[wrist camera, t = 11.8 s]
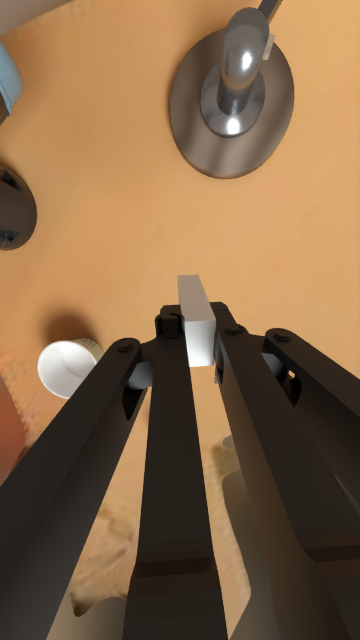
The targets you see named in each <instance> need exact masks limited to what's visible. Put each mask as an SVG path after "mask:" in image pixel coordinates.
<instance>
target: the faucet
mask: <svg viewBox="0 0 360 640" xmlns="http://www.w3.org/2000/svg"><path fill="white" fill-rule="evenodd" d="M282 1H283V0H262V2H261V4H260V6H259V7H258V9H256V8H250V7H249V8H244V9H241V10H240V11H238V12H237V13H236V14H235V15H234V16H233V17H232V18H231V20H230V22H229V24H228V26H227V30H226V36H225V42H224V49H223V56H222V61H221V62H219V63H218V64H217V65H215V66H214V67H213V68H212V69H211V71H210V72H209V73H208V75H207V76H206V78H205V80H204V83H203V86H202V90H201V99H200V109H201V114H202V118H203V120H204V122H205V124H206V126H207V127H208V128H209V130H210V131H211V132H213V133H214V134H216V135H217V136H220V137H223V138H236V137H239V136H241V135H243V134H245V133H246V132H248V131H249V130H250V129H251V128H252V127H253V126H254V125H255V123H256V122H257V120H258V118H259V116H260V114H261V111H262V109H263V106H264V102H265V93H266V92H265V83H264V80H263V77H262V75H261V73H260V71H259V67H260V64H261V61H262V57H263V54H264V51H265V48H266V45H267V42H268V38H269V24H270V22H271V20H272V18H273V17H274V15H275V13H276V11H277V9H278V8H279V6H280V4H281V2H282Z"/></svg>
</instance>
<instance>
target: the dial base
mask: <svg viewBox="0 0 360 640" xmlns="http://www.w3.org/2000/svg"><path fill="white" fill-rule="evenodd" d="M226 30H227V28H226V29H221V30H219V31H216V32H213V33H211V34H210V35H208V36H206V37H205V38H203V39H202V40H201V41H199V42H198V43H197V44H196V45H195V46H194V47H193V48H192V49H191V50H190V51H189V52H188V54H187V55H186V56H185V58H184V59H183V61H182V63H181V64H180V66H179V68H178V71H177V73H176V75H175V78H174V81H173V85H172V89H171V95H170V117H171V126H172V132H173V136H174V139H175V142H176V145H177V147H178V149H179V151H180V153H181V154H182V156H183V157H184V159H185V160H186V161H187V162H188V163H189V164H190V165H191V166H192V167H193V168H194V169H196V170H197V171H199V172H200V173H202V174H204V175H206V176H209V177H213V178H217V179H233V178H238V177H241V176H244V175H246V174H248V173H251V172H252V171H254V170H255V169H257V168H258V167H260V166H261V165H262V164H263V163H264V162H265V161H266V160H267V159H268V158H269V157H270V156H271V155H272V153H273V152H274V151H275V149H276V148H277V146H278V144H279V143H280V141H281V140H282V138H283V136H284V135H285V132H286V130H287V128H288V126H289V123H290V119H291V116H292V111H293V106H294V83H293V77H292V73H291V69H290V67H289V64H288V62H287V60H286V58H285V56H284V54H283V53H282V51H281V50H280V49H279V47H278V46H277V45H276V44H275V43H274V42H273V41H274V37H275V36H274V35H269V38H268V42H267V45H266V48H265V51H264V54H263V57H262V61H261V64H260V67H259V71H260V73H261V75H262V77H263V80H264V83H265V92H266V93H265V102H264V106H263V109H262V111H261V114H260V116H259V118H258V120H257V122H256V123H255V125H254V126H253V127H252V128H251V129H250V130H249V131H248V132H246V133H245V134H243V135H241V136H239V137H236V138H223V137H220V136H217V135H216V134H214V133H213V132H211V131H210V130H209V128H208V127H207V126H206V124H205V122H204V120H203V118H202V114H201V109H200V99H201V90H202V86H203V83H204V80H205V78H206V76H207V75H208V73H209V72H210V71H211V69H212V68H213V67H214V66H215V65H217V64H218V63H219V62H221V61H222V56H223V49H224V42H225V36H226Z"/></svg>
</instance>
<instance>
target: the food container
mask: <svg viewBox="0 0 360 640" xmlns="http://www.w3.org/2000/svg"><path fill="white" fill-rule="evenodd" d="M103 355H104V352H103V350H102V348H101V347H100V346H99V345H98V344H97V343H96V342H94V341H92V340H90V339H86V338H80V339H75V340H70V341H67V340H62V341H56V342H53V343H51V344H49V345H48V346H47V347H45V348H44V350H43V351H42V352H41V354H40V356H39V359H38V365H37V367H38V374H39V377H40V379H41V381H42V383H43V384H44V386H45V387H46V388H47V389H48V390H49V391H51V392H52V393H53V394H55V395H57V396H59V397H62V398H66V399H69V398H70V397H71V396H72V394H73V393H74V392H75V391H76V389H77V388H78V387H79V386H80V384H81V383H82V382H83V380H84V379H85V378H86V377H87V375H88V374H89V373H90V371H91V370H92V369H93V368H94V366H95V365H96V364H97V362H98V361H99V360H100V359H101V357H102V356H103Z"/></svg>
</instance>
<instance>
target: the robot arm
mask: <svg viewBox="0 0 360 640" xmlns="http://www.w3.org/2000/svg"><path fill="white" fill-rule="evenodd" d="M22 91H23V85H22V78H21V75H20V72H19V70H18V68H17V66H16V64H15V62H14V61H13V59H12V57H11V56H10V54H9V52H8V51H7V49H6V48H5V46H4V45H3V43H2V42H1V40H0V125H1V124H2V123H3V121H4V120H5V119H6V118H7V116H8V117H10V116H11V113H12V108H13V107H14V105H15V104H16V102H17V101H18V99H19V97H20V96H21V94H22ZM36 219H37V211H36V205H35V201H34V198H33V195H32V193H31V191H30V190H29V188H28V186H27V185H26V184H25V183H24V181H23V180H22V179H21V178H20V177H18V176H17V175H16V174H15V173H13V172H11V171H10V170H8V169H6V168H5V167H3V166H1V165H0V250H4V251H7V250H13V249H16V248H19V247H20V246H22V245H23V244H25V243H26V242H27V241H28V240H29V238H30V237H31V235H32V234H33V231H34V229H35V225H36ZM178 296H179V305H165V306H163V307H162V308H161V310H160V314H159V315H158V316H156V318H155V327H156V337H155V338H154V339H153V340H151V341H148V342H145V343H142V344H140V342H139V341H138V340H137V339H135V338H123V339H120V340H118V341H116V342H114V343H113V344H112V345H111V346H110V347H109V348H108V350H107V351H106V352H105V354H104V355H103V356H102V357H101V359H100V360H99V361H98V362H97V364H96V365H95V366H94V368H93V369H92V370H91V371H90V373H89V374H88V375H87V377H86V378H85V379H84V380H83V382H82V383H81V384H80V386H79V387H78V388H77V389H76V391H75V392H74V393H73V394H72V396H71V397H70V398H69V400H68V401H67V402H66V403H65V405H64V406H63V407H62V409H61V410H60V411H59V412H58V414H57V415H56V416H55V417H54V419H53V420H52V421H51V423H50V424H49V425H48V426H47V428H46V429H45V430H44V432H43V433H42V434H41V435H40V437H39V438H38V439H37V440H36V442H35V443H34V444H33V446H32V447H31V448H30V449H29V451H28V452H27V453H26V455H25V456H24V457H23V458H22V460H21V461H20V462H19V464H18V465H17V466H16V467H15V469H14V470H13V471H12V472H11V474H10V475H9V476H8V478H7V479H6V480H5V481H4V483H3V484H2V485H1V487H0V640H46V638H47V636H48V633H49V631H50V629H51V626H52V624H53V621H54V619H55V616H56V614H57V611H58V609H59V606H60V604H61V601H62V599H63V597H64V594H65V592H66V589H67V587H68V584H69V582H70V579H71V577H72V574H73V572H74V570H75V567H76V565H77V562H78V560H79V557H80V555H81V552H82V550H83V547H84V545H85V542H86V540H87V538H88V535H89V533H90V530H91V528H92V525H93V523H94V520H95V518H96V515H97V513H98V511H99V508H100V506H101V503H102V501H103V498H104V496H105V493H106V491H107V488H108V486H109V483H110V481H111V479H112V476H113V474H114V471H115V469H116V466H117V464H118V461H119V459H120V456H121V454H122V452H123V449H124V447H125V444H126V442H127V439H128V437H129V434H130V432H131V429H132V427H133V424H134V422H135V420H136V417H137V415H138V412H139V410H140V407H141V405H142V402H143V400H144V397H145V395H146V393H147V389H148V387H150V386H152V392H151V403H150V415H149V426H148V437H147V449H146V460H145V472H144V483H143V494H142V506H141V517H140V528H139V540H138V550H137V557H136V563H135V566H134V570H133V573H132V576H131V580H130V585H129V591H128V596H127V603H126V604H127V605H126V611H125V619H124V628H123V637H122V640H228V635H227V627H226V620H225V613H224V606H223V599H222V593H221V586H220V581H219V575H218V570H217V565H216V561H215V557H214V551H213V545H212V538H211V530H210V522H209V515H208V507H207V499H206V491H205V484H204V476H203V468H202V460H201V453H200V445H199V437H198V429H197V422H196V414H195V406H194V398H193V391H192V383H191V375H190V367H194V366H210V365H214V360H215V363H216V368H215V384H217V381H218V384H219V388H220V392H221V395H222V399H223V403H224V407H225V410H226V414H227V418H228V421H229V425H230V429H231V433H232V436H233V440H234V444H235V448H236V451H237V455H238V459H239V462H240V466H241V470H242V474H243V477H244V481H245V484H246V488H247V492H248V496H249V500H250V503H251V507H252V511H253V515H254V518H255V522H256V526H257V529H258V533H259V537H260V540H261V544H262V548H263V552H264V555H265V559H266V563H267V567H268V571H269V575H270V581H271V591H272V601H273V607H274V612H275V617H276V621H277V626H278V630H279V634H280V637H281V640H360V517H359V515H358V513H357V512H356V510H355V508H354V507H353V505H352V504H351V502H350V500H349V499H348V497H347V495H346V493H345V492H344V490H343V489H342V487H341V485H340V484H339V482H338V480H337V479H336V477H337V478H338V479H339V480H340V482H341V483H342V484H343V485H344V487H345V488H346V489H347V490H348V491H349V493H350V494H351V495H352V496H353V497H354V499H355V500H356V501H357V502H358V503H359V505H360V379H358V378H357V377H355V376H354V375H353V374H351V373H350V372H348V371H347V370H346V369H344V368H343V367H341V366H340V365H338V364H337V363H336V362H334V361H333V360H331V359H330V358H329V357H327V356H326V355H324V354H323V353H322V352H320V351H319V350H317V349H316V348H314V347H313V346H312V345H310V344H309V343H307V342H306V341H305V340H303V339H302V338H300V337H299V336H297V335H296V334H295V333H293V332H291V331H289V330H286V329H282V328H272V329H269V330H268V331H267V332H266V334H265V336H258V335H252V334H249V333H248V331H247V329H246V328H245V327H243V326H242V325H240V324H237V323H236V322H235V320H234V318H233V316H232V314H231V313H230V311H229V309H228V307H227V305H225V304H224V303H222V302H209V301H208V298H207V296H206V293H205V291H204V288H203V286H202V283H201V281H200V278H199V276H198V275H183V276H178ZM289 370H290V371H292V372H293V373H294V374H295V377H294V378H293V377H292V376H290V375H289V374H288V373H289ZM333 473H334V474H335V475H334V474H333ZM335 476H336V477H335Z"/></svg>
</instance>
